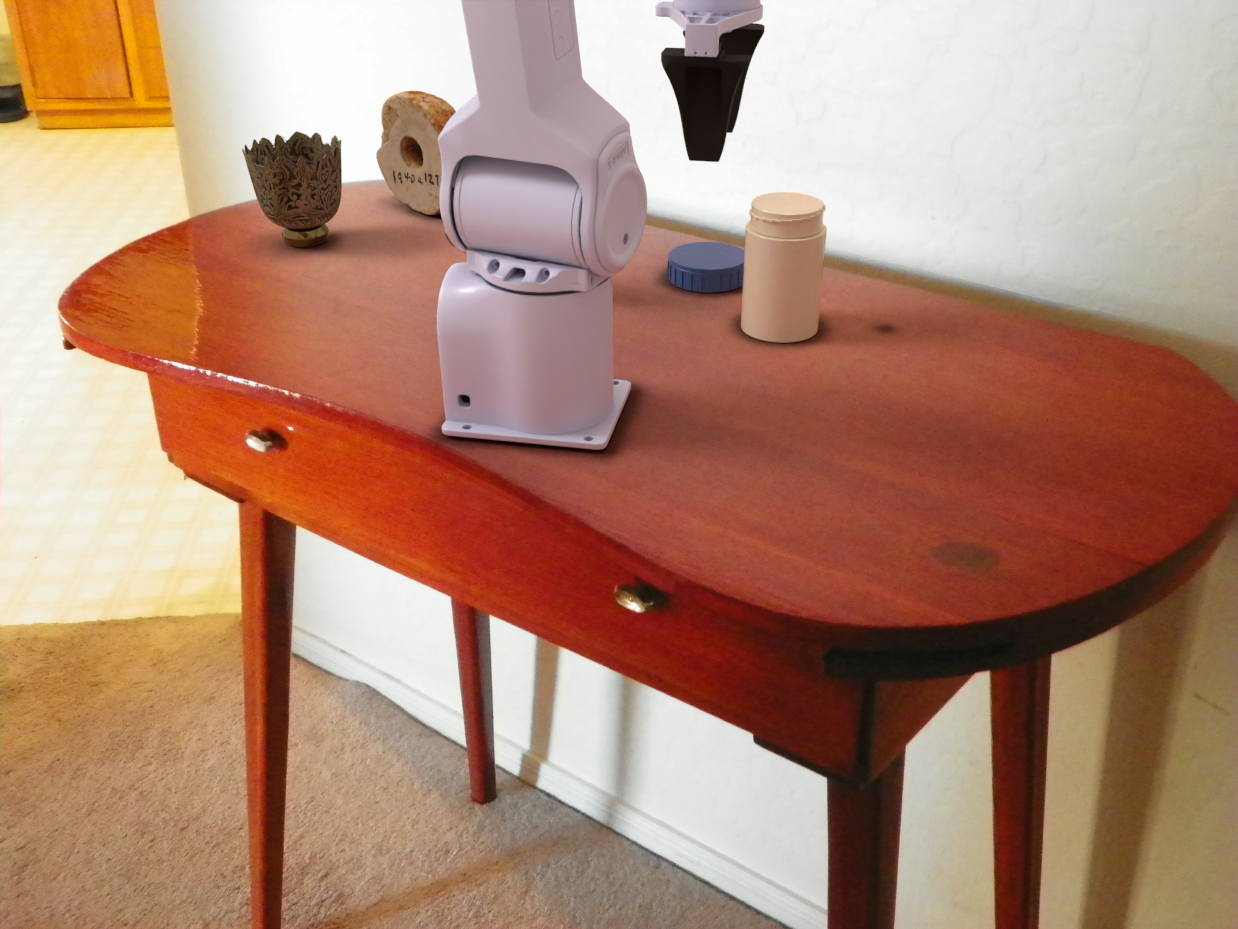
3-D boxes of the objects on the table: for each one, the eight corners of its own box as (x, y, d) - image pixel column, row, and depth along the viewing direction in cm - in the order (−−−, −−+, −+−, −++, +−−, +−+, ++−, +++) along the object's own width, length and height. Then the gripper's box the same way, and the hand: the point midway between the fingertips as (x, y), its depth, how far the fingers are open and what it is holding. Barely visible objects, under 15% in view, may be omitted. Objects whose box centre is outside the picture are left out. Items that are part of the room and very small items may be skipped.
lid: (756, 269, 86) (758, 246, 85) (734, 297, 81) (736, 273, 80) (682, 260, 88) (682, 237, 87) (656, 287, 83) (656, 263, 82)
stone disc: (484, 217, 97) (476, 97, 92) (450, 227, 95) (439, 105, 90) (412, 191, 104) (401, 78, 99) (378, 200, 101) (365, 85, 96)
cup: (239, 246, 91) (221, 146, 87) (309, 221, 97) (295, 126, 92) (303, 264, 88) (287, 161, 84) (372, 237, 93) (360, 139, 89)
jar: (738, 340, 75) (744, 213, 71) (742, 309, 79) (749, 188, 75) (817, 344, 74) (829, 217, 70) (818, 313, 79) (828, 191, 74)
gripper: (675, -81, 79) (672, 117, 86) (636, -57, 67) (636, 171, 74) (776, -79, 78) (765, 121, 85) (755, -55, 66) (744, 176, 73)
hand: (711, 144), depth 80 cm, fingers open, 7 cm apart
